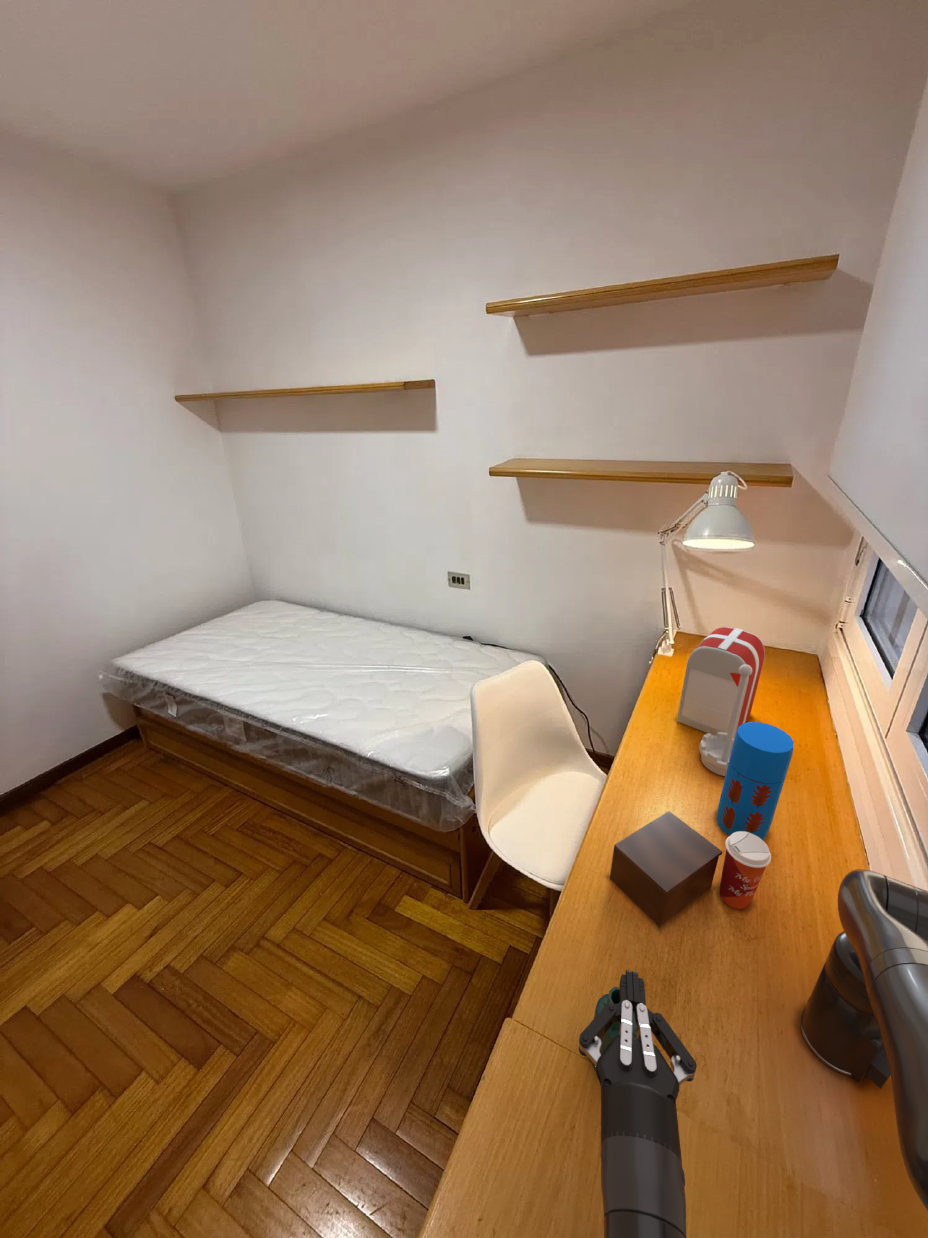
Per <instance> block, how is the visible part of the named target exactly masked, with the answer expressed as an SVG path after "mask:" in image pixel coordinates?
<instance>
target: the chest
mask: <svg viewBox="0 0 928 1238" xmlns="http://www.w3.org/2000/svg"><path fill="white" fill-rule="evenodd" d="M719 858H720V856H719V857H717V858H716V859H715V860H713V861H712V862H711V863H709V864H708V865H707V866H705V867H704V868H703V869H701V870H700V871H698V872H697V873H696V874H694V875H693V876H692V877H690V878H689V879H688V880H686V881H685V882H683V883H682V884H681V885H679V886H678V887H677V888H675V889H674V890H673V891H671V892H670V893H668V894H667V895H666V894H665V893H663V892H662V891H661V890H660V889H659V888H658V887H657V886H656V885H655V884H654V883H652V882H651V881H650V880H649V879H648V878H647V877H646V876H645V875H644V874H643V873H642V872H640V871H639V870H638V869H637V868H636V867H635V866H634V865H633V864H632V863H631V862H629V861H628V860H627V859H626V858H625V857H624V856H623V855H622V854H621V853H620V852H618V851H617V850H616V849H615V848H614V847H613V852H612V859H611V866H610V873H609V879H610V881H611V882H613V884H615V885H616V886H617V887H618V888H619V890H621V891H622V892H623V893H624V895H626V896H627V897H628V898H629V899H630V900H631V901H632V902H633V903H634V904H635V905H636V906H637V907H638V908H639V909H640V910H641V911H642V912H643V913H644V915H646V916H647V917H648V918H649V919H650V920H651V921H652V922H653V923H654V924H655V925H656V926H657V927H658V928H661V927H662V926H663V925H665V924H666V923H668V922H669V921H671V919H673V918H674V917H675V916H677V915H678V914H679V913H681V912H682V911H683V910H684V909H686V908H687V907H689V905H691V904H692V903H693V902H695V901H696V900H697V899H698V898H700V897H701V896H702V895H704V894H705V893H706V892H707V891H709V890H710V889H711V888H712V885H713V882H714V878H715V875H716V870H717V867H718V862H719Z"/></svg>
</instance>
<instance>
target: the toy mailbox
mask: <svg viewBox="0 0 928 1238" xmlns="http://www.w3.org/2000/svg"><path fill="white" fill-rule="evenodd" d="M765 656H766V651H765V645H764V643H763V641H762V639H760V637H759V636H757V635H756V634H754V633H751V632H748V631H747V630H746V631H745V630H743V629H741V628H737V627H735V628H734V627H728V626H721V627H718V628H715V629H714V630H713V631H711V632H710V633H709V634H708V636H705V638H703V639H702V641H701V642H700V643H699V644H698V646H697V647H696V648H695V649H693V651H692V652H691V653H690V655H689V657H688V659H687V662H686V665H685V666H686V667H685V672H684V676H683V677H684V678H683V684H682V689H681V695H680V700H679V705H678V710H677V716H676V722H678V723H681V724H683V725H686V726H688V727H691V728H694V729H696V730H699V731H701V732H704V733H705V734H707V733H710V734H711V735H717V732H725V733H727V732H728V728H729V724H730V719H731V715H732V711H733V707H734V702H735V698H736V694H737V689H738V687H737V685H736V683H735V682H734V680H733V678H732V676H731V674H730V673H739V668H740V666H741V665H744V664H746V665H749V666H750V667H751V668H752V674H751V675H749V676H748V677H747V682H746V686H745V690H744V694H743V698H742V702H741V706H740V711H739V715H738V719H737V723H736V727H735V731H734V736H733V738H734V739H735V735H736V732H737V729H738V727H739V726H740V725H742V724H743V723H747V721H748V720H749V719H750V717H751V714H752V709H753V705H754V702H755V697H756V693H757V690H758V686H759V681H760V678H761V674H762V671H763V670H762V669H763V666H764V662H765ZM739 674H740V673H739Z"/></svg>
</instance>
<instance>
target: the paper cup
mask: <svg viewBox="0 0 928 1238" xmlns="http://www.w3.org/2000/svg"><path fill="white" fill-rule="evenodd" d="M771 861H772V854H771V852H770V848H769V846H768V844H767V843H766V842H765V841H764V840H762V839H760V838H759V837H757V836H756V835H754V834H751V833H749V832H744V831H738V832H735V833H733V834H731V836H729V835H728V837H727V838H726V839H725V854H724V859H723V865H722V869H721V870H722V871H721V877H720V882H719V891H718V892H719V895H720V898H721V900H722V901H723V902H724V903H725V904H726V905H728V906H729V907H731V908H733V909H737V910H745V909H747V908H748V907H750V905H751V904H752V901H753V899H754V896H755V895H756V893H757V889H758V887H759V884H760V882H761V880H762V878H763V876H764V873H765V870H766V868H767V866H768V865H769V864H770V863H771Z"/></svg>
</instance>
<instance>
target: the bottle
mask: <svg viewBox="0 0 928 1238" xmlns="http://www.w3.org/2000/svg"><path fill="white" fill-rule="evenodd" d="M619 1002H620V986H613V987H612V988H611V989H610V990H608V993H605V994H603V995H602V996H601V997H599V998H598V1000H597V1002H596V1005H595V1007H594V1016H593V1019H594V1018H595V1017H596V1016H597V1015H598V1014H599V1013H600V1012H601V1010H602V1009H603V1008H604V1007H605V1006H606V1005H607V1004H608V1003H613V1004H618V1003H619ZM619 1027H620V1022H615V1023H614V1024H613V1026H612V1027H611V1028H610V1029H609V1030H608V1032H607V1033H606V1034H605V1035H604V1036H603V1038H602V1039H601V1050H600V1054H602V1053H603V1052H604V1050H605V1049H606V1048H607V1046H608V1045H609V1044H610V1042H611V1041H612V1040H613V1039H614V1037H616V1036H618V1035H619ZM632 1036H633V1037H635V1038H637V1035H636V1026H635V1016H634V1012H632ZM590 1063H591V1065H592V1068H593V1069H594V1071H595V1072H596V1067H595V1064H594V1063H593V1062H592V1061H591V1060H590Z"/></svg>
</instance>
